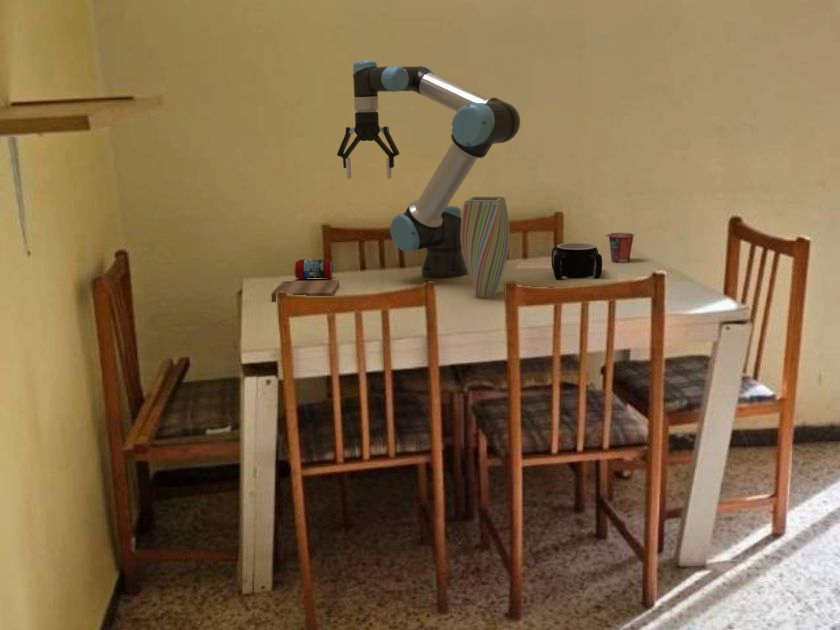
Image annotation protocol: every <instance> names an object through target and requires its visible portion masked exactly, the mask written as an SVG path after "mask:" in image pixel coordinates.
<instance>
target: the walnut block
mask: <svg viewBox="0 0 840 630" xmlns="http://www.w3.org/2000/svg"><path fill="white" fill-rule="evenodd" d="M339 288H340V280H338V279H337V280H336V279H335V280H334V279H333V280H332V279H321V280H283V281H281V282H280V283H279V284H278V285H277V287H276V288H274V290H273V291H272V292H271V295H270V296H271V302H272V303H273V302H274V303H275V302H276V293H277V292H280V291H284V292H287V293H289V294H293V295H306V296H333V295H334V296H335V294H336V293H337V291H338V289H339ZM334 296H333V297H334ZM276 303H277V302H276Z"/></svg>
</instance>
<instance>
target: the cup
mask: <svg viewBox="0 0 840 630" xmlns="http://www.w3.org/2000/svg"><path fill="white" fill-rule="evenodd" d="M605 237H608V239H609V249H610V259H611V262H612V263H613V264H625V263H629V262H630V258H631V253H632V245H633V241H634V237H635V234H634V233H631V232H612V233H608V234H606V235H605Z"/></svg>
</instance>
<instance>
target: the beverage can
mask: <svg viewBox="0 0 840 630" xmlns="http://www.w3.org/2000/svg"><path fill="white" fill-rule="evenodd" d="M293 269H294V277H295V279H298V280H300V279H307V278H330V277H331V278H332V277H333V272H334V270H333V262H332V260H331V259H330V258H310V259H307V258H306V259H299V260H297V261H295V262H294V267H293ZM331 278H330V279H331Z"/></svg>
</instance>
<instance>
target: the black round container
mask: <svg viewBox="0 0 840 630" xmlns="http://www.w3.org/2000/svg"><path fill="white" fill-rule="evenodd" d="M550 255H551V259H550V260H551V261H550V262H551V269H552V271H553V275H554V278H555V280H559V281H561V280H565V279H583V278H584V279H585V278H589V279H595V280H597V279H600V278H601V276H602V272H603V257H602V255H601V253H599V249H598V248H597V245H595V244H593V243H589V242H565V243H559V244H557V245H556V247H553V248H552V249H551V254H550ZM593 275H594V276H593Z"/></svg>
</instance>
